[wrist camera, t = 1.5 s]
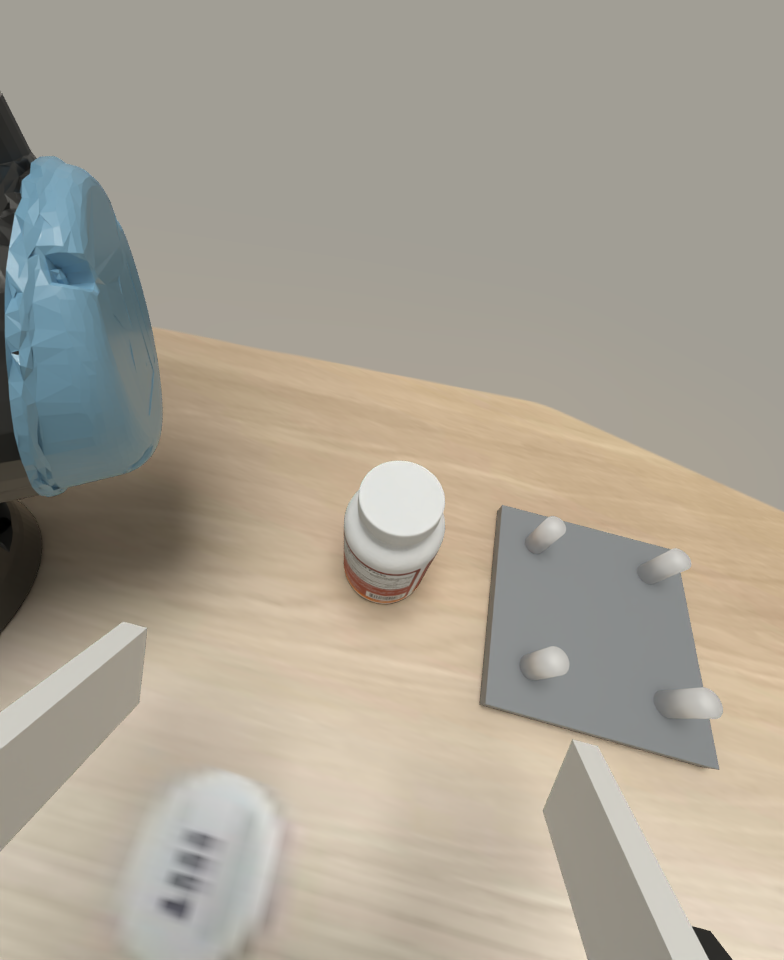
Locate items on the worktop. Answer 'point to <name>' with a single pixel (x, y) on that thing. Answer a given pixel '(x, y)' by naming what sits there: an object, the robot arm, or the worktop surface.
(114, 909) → the worktop surface
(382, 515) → the pill bottle
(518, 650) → the peg board
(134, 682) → the robot arm
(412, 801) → the worktop surface
